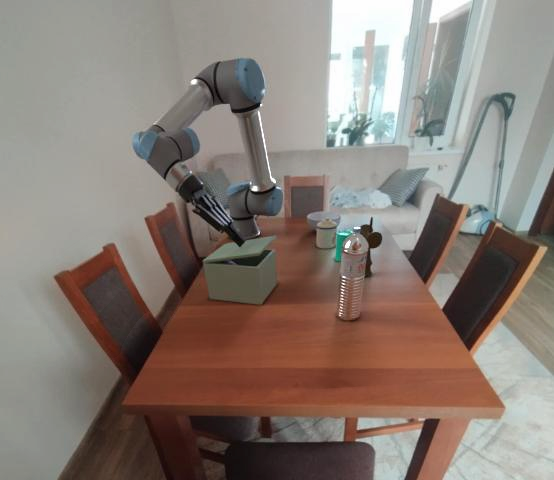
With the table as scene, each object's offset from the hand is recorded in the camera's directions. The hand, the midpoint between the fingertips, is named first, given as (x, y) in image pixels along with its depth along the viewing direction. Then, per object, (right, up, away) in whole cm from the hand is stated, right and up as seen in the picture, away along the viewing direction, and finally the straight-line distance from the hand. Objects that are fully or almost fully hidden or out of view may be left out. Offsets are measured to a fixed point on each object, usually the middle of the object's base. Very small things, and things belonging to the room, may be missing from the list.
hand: (243, 243), depth 104 cm
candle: (+37, +5, +30) cm, 48 cm away
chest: (-1, -12, +11) cm, 16 cm away
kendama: (+43, -5, +17) cm, 47 cm away
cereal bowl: (+34, +31, +62) cm, 77 cm away
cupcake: (-1, -10, +9) cm, 14 cm away
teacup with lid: (+33, +17, +45) cm, 58 cm away
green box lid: (-1, -1, +2) cm, 2 cm away
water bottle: (+32, -24, -6) cm, 40 cm away
